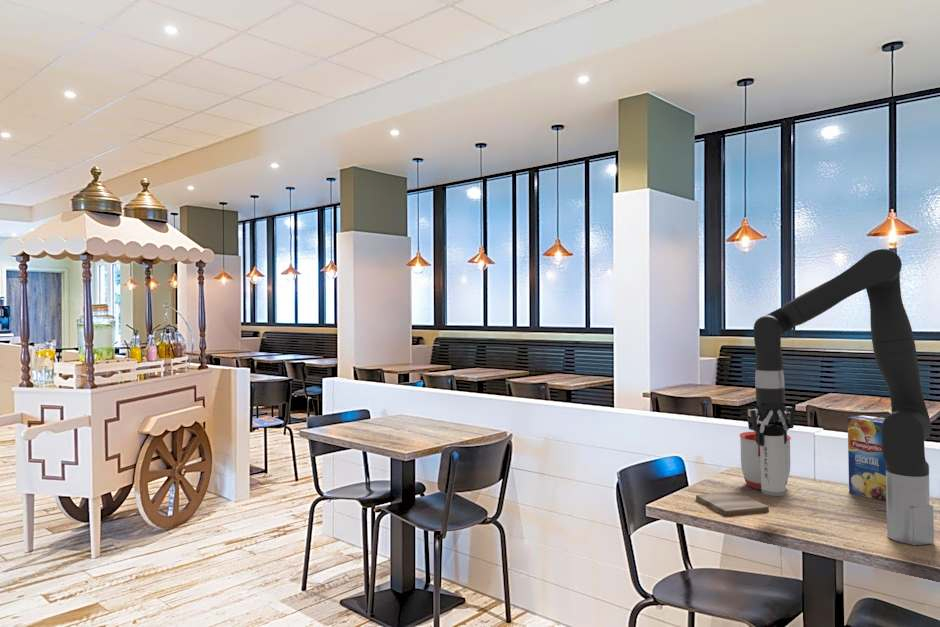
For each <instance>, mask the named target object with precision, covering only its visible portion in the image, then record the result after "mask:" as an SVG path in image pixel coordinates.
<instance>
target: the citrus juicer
mask: <svg viewBox="0 0 940 627" xmlns="http://www.w3.org/2000/svg"><path fill="white" fill-rule="evenodd" d="M739 437H740V466H741V472H742V475H743V478H744V481H745V483H746V485H747V486H748V487H751V488H753V489H754V490H761V461H760V446H759V445H758V444H757V443H756V433H755V431H745V432H741V433H739ZM791 439H792V438H791V436H789V435H788V434H787V442H786V444H784V453H785V484H786V485H787V484H788V481H789V477H790V473H791V472H790V471H791Z"/></svg>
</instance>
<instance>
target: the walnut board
mask: <svg viewBox="0 0 940 627" xmlns="http://www.w3.org/2000/svg"><path fill="white" fill-rule="evenodd" d="M695 500H696V501H697V502H699V503H701V504H703V505H704V506H706V507H709V508H710V509H712V510H714V511H715V512H717V511H718V513H720V514H721V515H723V516H726V517H730V516H731V517H732V516H737V515H738V516H742V515H750V514H760V513H761V514H762V513H769V512H770V511H769V510H770V507H769V505H766V504H764V503H762V502H760V501H757V500H755V499H753V498H751V497H749V496H748V495H747V496H746V495H745V494H742V493H740V492H738V491H737V490H736V491H729V492H728V491H727V492H725V491H724V492H715V493H705V494H696V495H695Z"/></svg>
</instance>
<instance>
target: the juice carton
mask: <svg viewBox="0 0 940 627" xmlns="http://www.w3.org/2000/svg"><path fill="white" fill-rule="evenodd" d="M885 418H886V417H885ZM885 418H884V417H877V416H868V415H864V414H863V415H855V416H850V417H849V416H848V417H847V443H848V444H847V448H848V449H847V452H848V453H847V454H848V455H847V456H848V457H847V458H848V460H847V461H848V462H847V463H848V492H849V493H850V494H854V495H858V496H863V497H865V498H869V499H874V500H876V501H880V502H881V501H882V502H885V503H886V464H885V461H884V458H883V448H882V424H883V421H884V419H885Z"/></svg>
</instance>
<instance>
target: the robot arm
mask: <svg viewBox="0 0 940 627" xmlns="http://www.w3.org/2000/svg"><path fill="white" fill-rule="evenodd" d="M901 271H902V259H901V258H900V256H899V254H897V253H896V252H895V251H893V250H892V249H887V248H882V247H881V248H876V249H872V250H870V251H868V252H867V253H865V255H864V256H863V257H862V258H860V259H859V260H858V261H857V262H855V263H854V264H853V265H852V266H849V268H847V269H846V270H845V271H842V272H841V273H840V274H838V275H836V276H834V277H833V278H831V279H830V280H827V281H826V282H824V283H822V284H820V285H818V286H815V287H814V288H811V289H810V290H807V291H806V292H804V293H803V294H800V295H799V296H797V297H795V298H794V299H792V300H789V302H787V303H785V304H784V305H783V306H781V307H779V308H777V309H776V310H773V311H771V312H769V313H767V314H766V315H764V316H760V317H758V318H757V319H756V320H755V321H754V325H753V340H754V348H755V376H754V380H755V382H754V384H755V385H754V386H755V402H756V407H755V408H753V409H752V408H747V409H746V416H747V418H746V419H747V426H748V430H750V431H752V432H755V433H756V443H757V444H758V445H759V446H764V433H763V431H764V429H765V427H766V426H767V425H768V422H776V423H777V424H781V425H783V428H784V431H783V432H784V444H786V442H787V435H788V430H790V429H793V428H794V424H795V413H796V412H795V411H796V410H795V407H793V406H786V405H785V402H786V395H785V394H786V393H785V392H786V391H785V390H786V389H785V374H784V362H783V360H784V359H783V353H782V348H781V347H782V346H781V345H782V341H781V340H782V339H781V338H782V337H781V336H782V335H784V334H785V333H787V332H788V331H791V330H792V329H794V328H795V327H798V326H800V325H803V324H805V323H807V322H809V321H810V320H813V319H814V318H816V317H818V316H820V315H821V314H824V313H825V312H827V311H828V310H831V309H832V308H833V307H834V306H836V305H838V304H840V303H841V302H843V301H844V300H846V299H847V298H849V297H851V296H853V295H856V294H857V293H859V292H861V291H864V290H866V293H867V297H868V302H869V309H870V320H869V321H870V333H871V334H870V335H871V344H872V348H873V354H874V358H875V363H876V365H877V368H878V369H879V372H880V375H881V376H882V378H883V380H884V382H885V384H886V386H887V388H888V392H889V398H890V408H891V413H889V414H888V415H886V417H885V419H884V421H883V424H882V448H883V458H884V461H885V464H886V502H885V503H886V536H887V537H888V538H889V539H891V540H893V541H895V542H899V543H901V544H902V543H903V544H908V545H912V546H923V545H931V544H935V533H934V532H935V530H934V525H935V524H934V517H935V516H934V506H933V505H932V504H931V503H930V501H931V500H930V465H929V462H928V461H927V460H926V453H925V452H926V451H925V441H926V440H928V439H929V437H930V435H931V434H932V427H933V426H932V421H931V418H930V415H929V411H928V409H927V405H926V402H925V398H924V396H923V392H922V386H921V376H920V368H919V362H918V355H917V349H916V347H917V346H916V342H915V336H914V333H913V329H912V324H911V322H910V320H909V316H908V314H907V312H906V308H905V305H904V303H903V299H902V290H901ZM783 414H784V416H783ZM760 425H761V426H760Z"/></svg>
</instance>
